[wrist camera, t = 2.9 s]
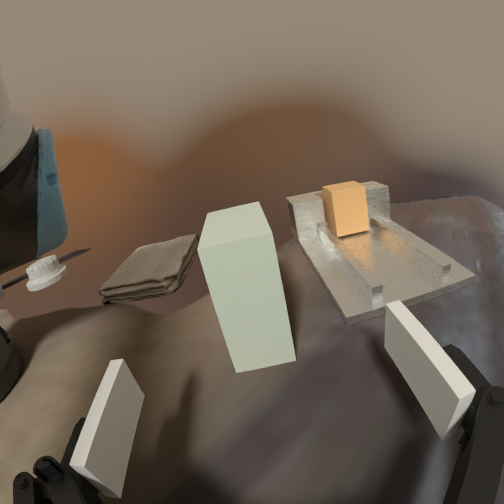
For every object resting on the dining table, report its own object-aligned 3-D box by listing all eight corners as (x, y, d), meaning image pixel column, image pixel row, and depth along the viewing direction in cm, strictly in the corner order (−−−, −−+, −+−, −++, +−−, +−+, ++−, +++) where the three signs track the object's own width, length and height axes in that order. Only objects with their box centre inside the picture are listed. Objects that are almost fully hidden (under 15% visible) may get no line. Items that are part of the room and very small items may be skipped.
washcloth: (99, 310, 37) (91, 289, 36) (141, 257, 54) (135, 242, 53) (180, 298, 36) (172, 275, 35) (202, 245, 53) (198, 228, 52)
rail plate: (346, 325, 24) (341, 261, 22) (292, 234, 46) (286, 197, 44) (474, 282, 24) (479, 225, 22) (376, 216, 46) (373, 180, 44)
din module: (236, 372, 22) (197, 249, 18) (234, 310, 30) (207, 213, 26) (296, 360, 22) (272, 232, 18) (279, 300, 30) (258, 201, 26)
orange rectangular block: (337, 237, 39) (331, 191, 37) (328, 228, 43) (322, 186, 40) (369, 229, 39) (364, 185, 37) (358, 221, 42) (353, 180, 40)
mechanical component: (65, 267, 60) (28, 285, 54) (58, 249, 58) (21, 267, 52) (71, 276, 52) (29, 297, 47) (63, 255, 51) (20, 276, 45)
